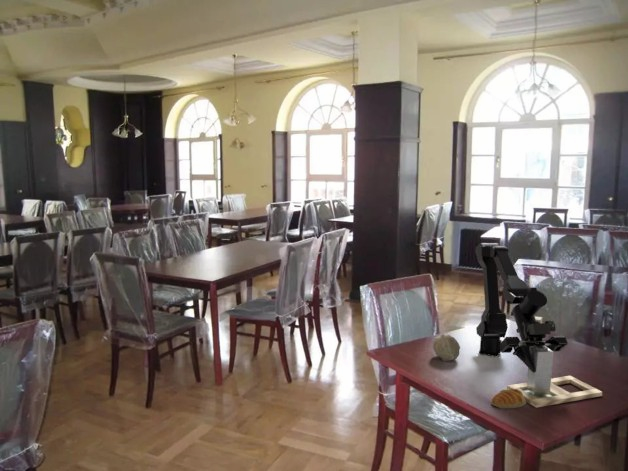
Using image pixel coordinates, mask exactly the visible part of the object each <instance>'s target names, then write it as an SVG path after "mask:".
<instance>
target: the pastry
mask: <svg viewBox="0 0 628 471" xmlns="http://www.w3.org/2000/svg"><path fill="white" fill-rule="evenodd" d="M526 404H527V402H526V401H525V398H524V396H523V393H522V392H521V391H520V390H518V389H513V388H512V389H510V390H507V389H505V390H504V389H503V390H501V391H499V392H498V393H496V394H495V395H493V397H492V398H491V405H493V406H495V407H496V408H499V409H503V410H504V409H510V410H511V409H517V408H521V407H524V406H525V405H526Z"/></svg>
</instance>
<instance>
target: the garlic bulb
mask: <svg viewBox="0 0 628 471" xmlns="http://www.w3.org/2000/svg"><path fill="white" fill-rule="evenodd" d="M432 343H433V346H432V347H433V350H434V353H435V355H436V356H438V357H439V358H440V359H441V360H443V361H446V362H450V361H455V360H457V358H458V357H459V356H460V349H461V345H460V343H459V342H458V341H457V339H456V338H455V337H454V336H452V335H451V334H447V333H442V334H440V335H438V336H437V337H435V339H434V341H433V342H432Z"/></svg>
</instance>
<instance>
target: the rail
mask: <svg viewBox="0 0 628 471" xmlns="http://www.w3.org/2000/svg"><path fill="white" fill-rule="evenodd" d="M565 384H571V385H573V386H574V387H577V388H579V389H580V391H574V392H570V391H567V390H565V389H564V388H562V387H560V386H561V385H565ZM512 388H513V389H518V390H520V391H521V392H522V393H523V396H524V398H525V401H526V403H527V404H529V405H531V406H533V407H535V408H542V407H546V406H552V405H559V404H564V403H569V402H575V401H580V400H582V401H583V400H585V399H592V398H598V397H603V391H601V390H600V389H598V388H596V387H593V386H592V385H590V384H588V383H586V382H583V381H582V380H580V379H578V378H576V377H574V376H572V375H565V376H560V377H553V378H552V377H551V386H550V395H534V394H533V393H531V392H530V391H529V390H528V389H527V381H526V382H521V383H514V384H507V385H506V390H510V389H512ZM581 390H582V391H581Z"/></svg>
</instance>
